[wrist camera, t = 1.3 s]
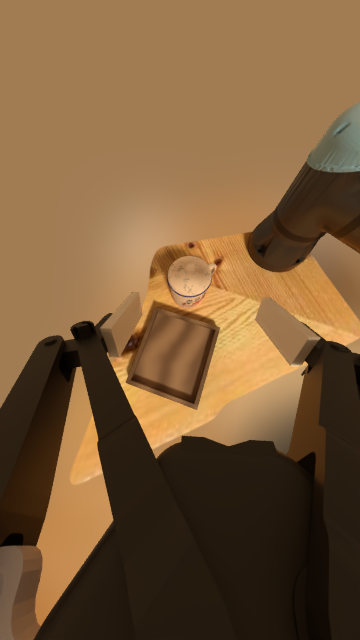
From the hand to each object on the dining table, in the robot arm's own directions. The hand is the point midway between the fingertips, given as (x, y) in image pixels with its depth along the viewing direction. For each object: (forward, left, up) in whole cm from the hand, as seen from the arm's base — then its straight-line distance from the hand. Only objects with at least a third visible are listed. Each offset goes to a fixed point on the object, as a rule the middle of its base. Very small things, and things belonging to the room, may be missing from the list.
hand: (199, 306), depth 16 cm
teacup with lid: (+3, -11, -20) cm, 23 cm away
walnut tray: (+2, +6, -20) cm, 21 cm away
